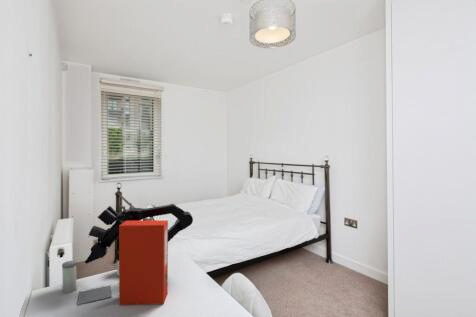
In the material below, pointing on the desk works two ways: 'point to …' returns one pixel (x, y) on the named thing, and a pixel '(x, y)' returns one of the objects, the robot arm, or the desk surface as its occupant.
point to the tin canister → (69, 276)
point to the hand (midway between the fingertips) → (88, 258)
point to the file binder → (143, 262)
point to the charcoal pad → (94, 295)
